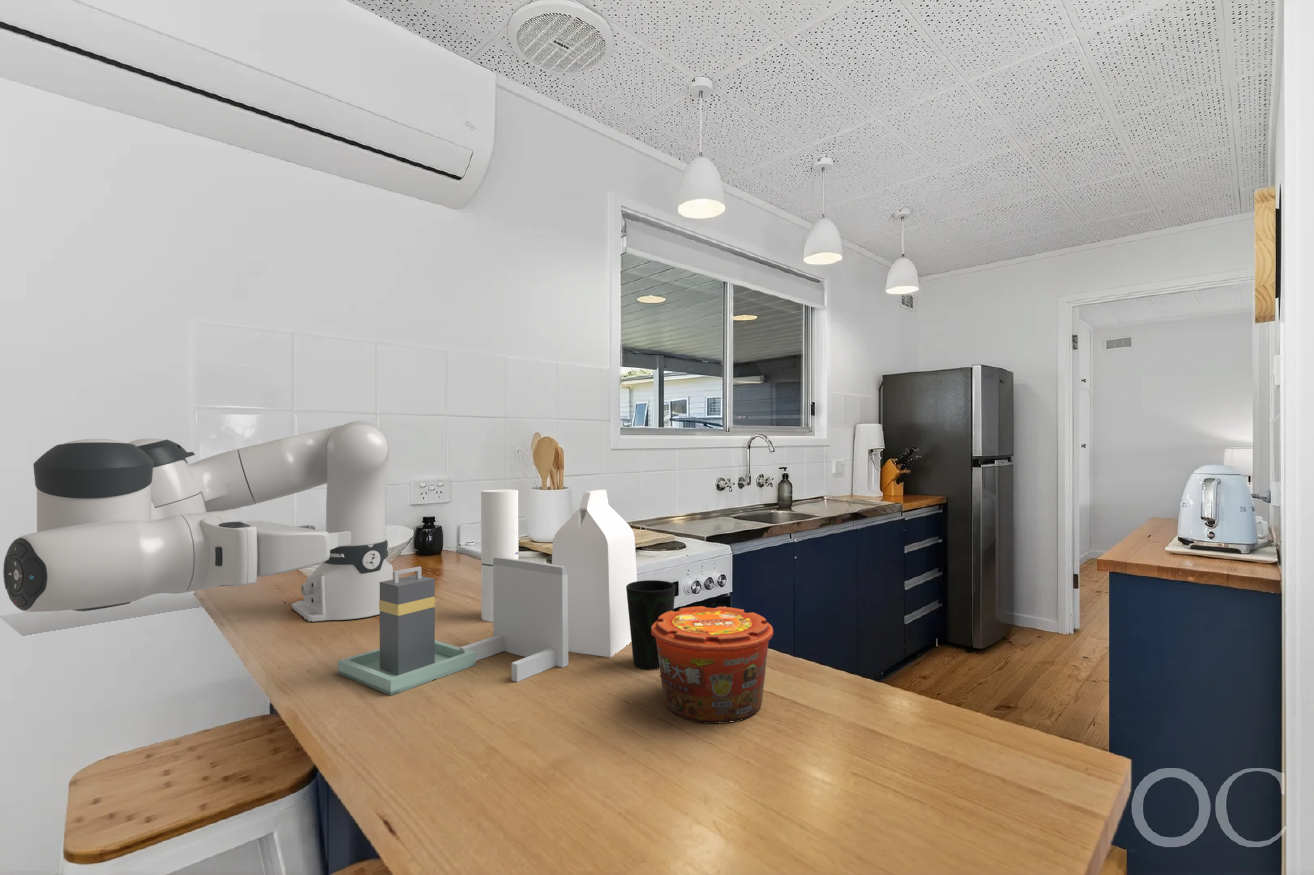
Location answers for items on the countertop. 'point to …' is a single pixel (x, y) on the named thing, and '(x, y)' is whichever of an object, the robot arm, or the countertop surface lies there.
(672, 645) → the food container
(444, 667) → the tray
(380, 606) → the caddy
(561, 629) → the dock
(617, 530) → the milk
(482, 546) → the cylindrical container
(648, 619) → the cup
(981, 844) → the countertop surface
